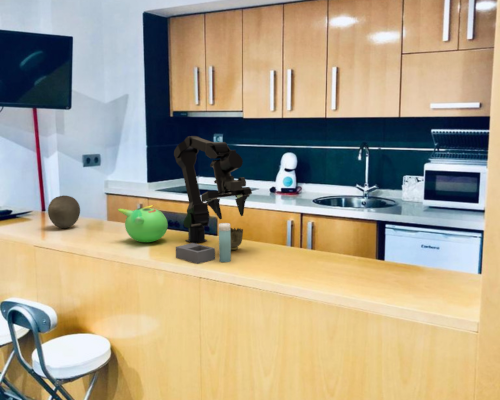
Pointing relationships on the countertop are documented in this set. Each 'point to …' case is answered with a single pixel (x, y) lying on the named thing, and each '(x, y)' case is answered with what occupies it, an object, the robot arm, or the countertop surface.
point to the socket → (195, 253)
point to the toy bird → (145, 224)
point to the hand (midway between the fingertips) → (231, 217)
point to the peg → (224, 242)
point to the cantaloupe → (64, 211)
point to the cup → (236, 238)
